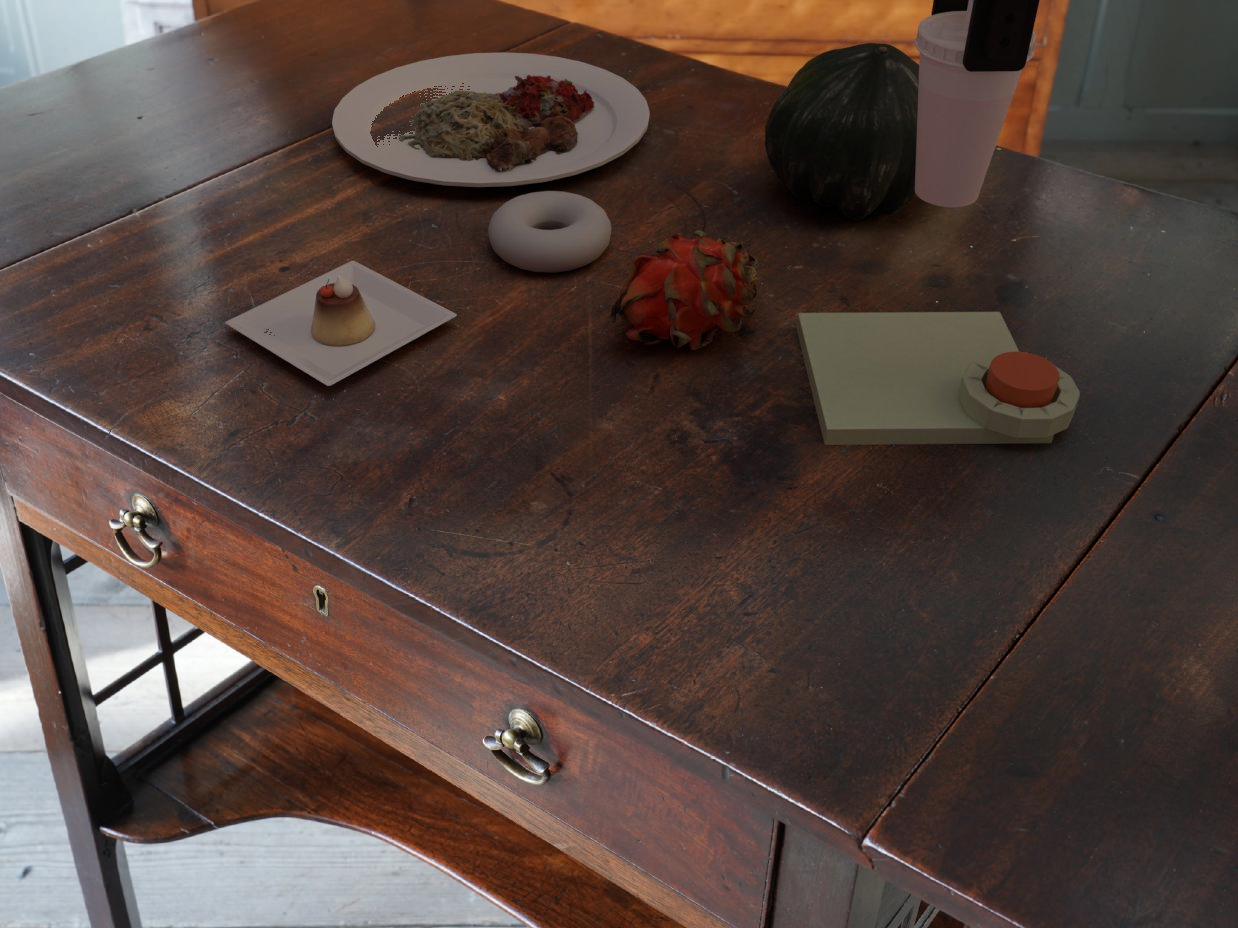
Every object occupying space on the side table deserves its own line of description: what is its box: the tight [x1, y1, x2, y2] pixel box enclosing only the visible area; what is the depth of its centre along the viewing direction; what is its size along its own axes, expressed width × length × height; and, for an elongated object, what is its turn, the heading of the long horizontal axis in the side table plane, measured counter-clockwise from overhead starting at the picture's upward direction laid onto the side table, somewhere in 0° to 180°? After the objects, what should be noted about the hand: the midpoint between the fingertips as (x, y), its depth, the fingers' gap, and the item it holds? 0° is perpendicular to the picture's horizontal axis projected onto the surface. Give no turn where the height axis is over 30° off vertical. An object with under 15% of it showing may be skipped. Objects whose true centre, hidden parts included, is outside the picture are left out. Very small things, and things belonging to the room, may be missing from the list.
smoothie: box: [914, 0, 1037, 208], centre depth 68 cm, size 6×6×14 cm
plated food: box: [331, 51, 651, 188], centre depth 116 cm, size 30×30×3 cm
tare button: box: [986, 351, 1059, 408], centre depth 80 cm, size 4×4×2 cm
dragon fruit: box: [610, 229, 759, 351], centre depth 88 cm, size 8×8×12 cm
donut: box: [487, 190, 613, 274], centre depth 98 cm, size 10×4×10 cm
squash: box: [764, 42, 919, 221], centre depth 103 cm, size 14×15×15 cm
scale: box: [795, 311, 1081, 446], centre depth 84 cm, size 17×15×3 cm
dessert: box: [224, 260, 458, 387], centre depth 88 cm, size 12×12×5 cm
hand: (975, 41), depth 67 cm, fingers closed on smoothie, 6 cm apart
